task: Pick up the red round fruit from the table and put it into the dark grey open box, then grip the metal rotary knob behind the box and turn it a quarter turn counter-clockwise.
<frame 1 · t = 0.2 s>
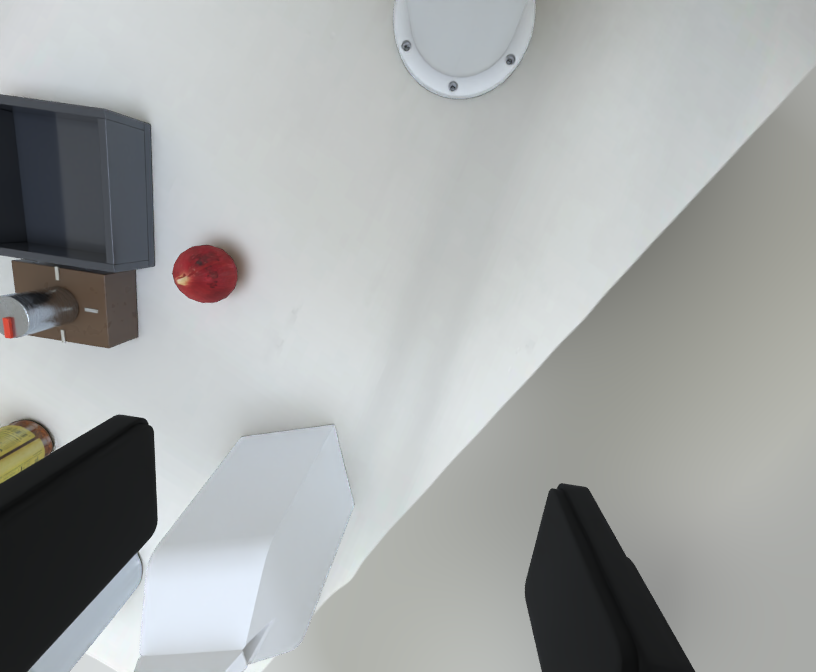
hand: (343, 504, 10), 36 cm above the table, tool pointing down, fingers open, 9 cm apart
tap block: (95, 297, 48), on the table
dark grey open box: (87, 188, 45), on the table
sauce bottle: (36, 439, 54), on the table
red round fruit: (225, 269, 46), on the table
milk: (299, 470, 52), on the table
metal rotary knob: (34, 311, 41), point 7 cm above the table, hinge at 0.0°
utensil holder: (97, 559, 59), on the table
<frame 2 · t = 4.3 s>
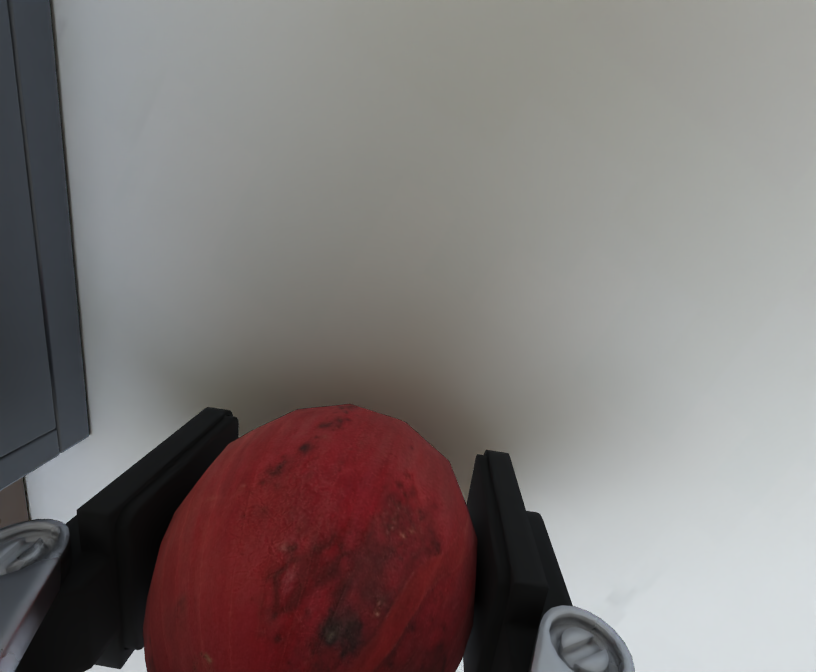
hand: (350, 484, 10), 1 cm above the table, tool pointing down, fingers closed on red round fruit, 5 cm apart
red round fruit: (363, 450, 12), on the table, touching gripper
when the fingers open (2 cm above the table, at t = 11.7 s): red round fruit stays where it is, resting on dark grey open box.
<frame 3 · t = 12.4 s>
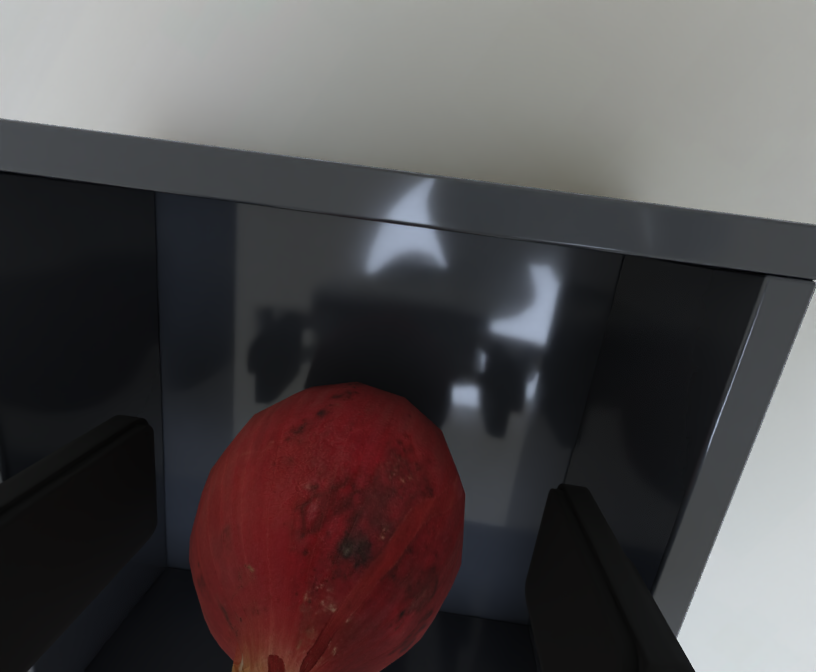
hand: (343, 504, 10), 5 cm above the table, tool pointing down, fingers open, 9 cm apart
dark grey open box: (367, 418, 14), on the table
red round fruit: (366, 429, 13), point 1 cm above the table, touching dark grey open box
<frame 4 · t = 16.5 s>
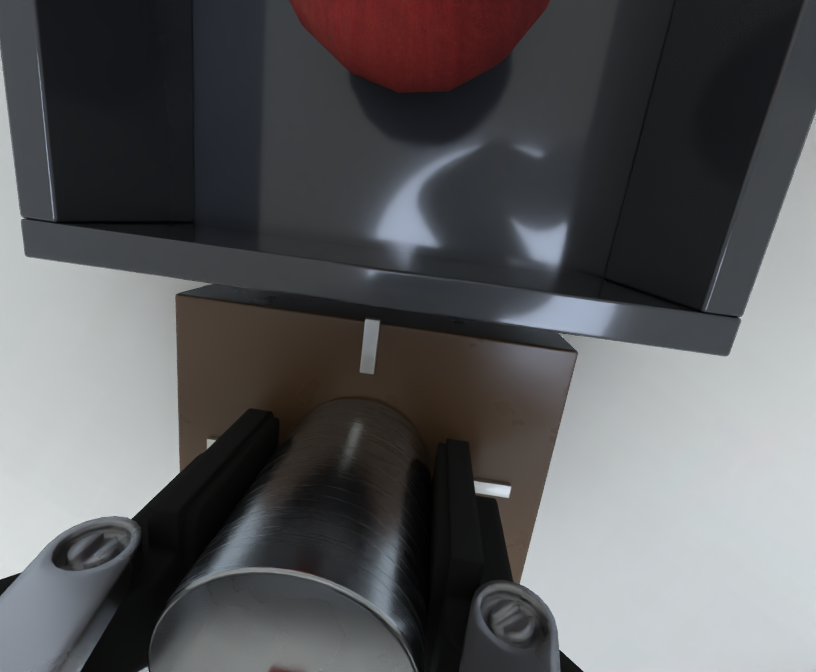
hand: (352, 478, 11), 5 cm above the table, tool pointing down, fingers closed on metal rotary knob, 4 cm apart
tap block: (380, 397, 15), on the table
dark grey open box: (425, 26, 12), on the table
red round fruit: (427, 13, 11), point 1 cm above the table, touching dark grey open box
metal rotary knob: (329, 547, 8), point 7 cm above the table, hinge at -0.2°, touching gripper
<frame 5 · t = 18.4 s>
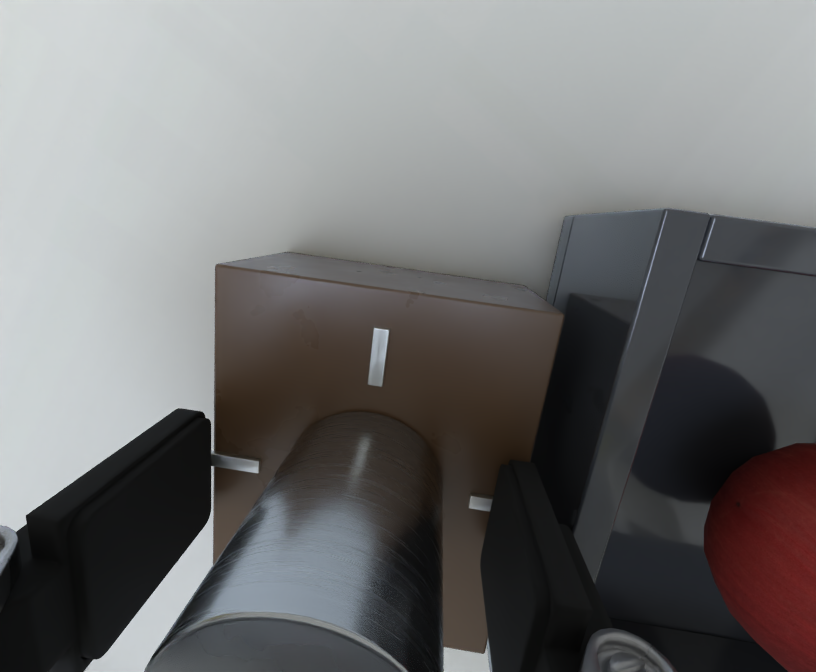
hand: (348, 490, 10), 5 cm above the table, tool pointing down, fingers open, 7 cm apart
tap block: (386, 406, 15), on the table
dark grey open box: (725, 459, 14), on the table
red round fruit: (741, 475, 14), point 1 cm above the table, touching dark grey open box
metal rotary knob: (335, 574, 8), point 7 cm above the table, hinge at 93.1°
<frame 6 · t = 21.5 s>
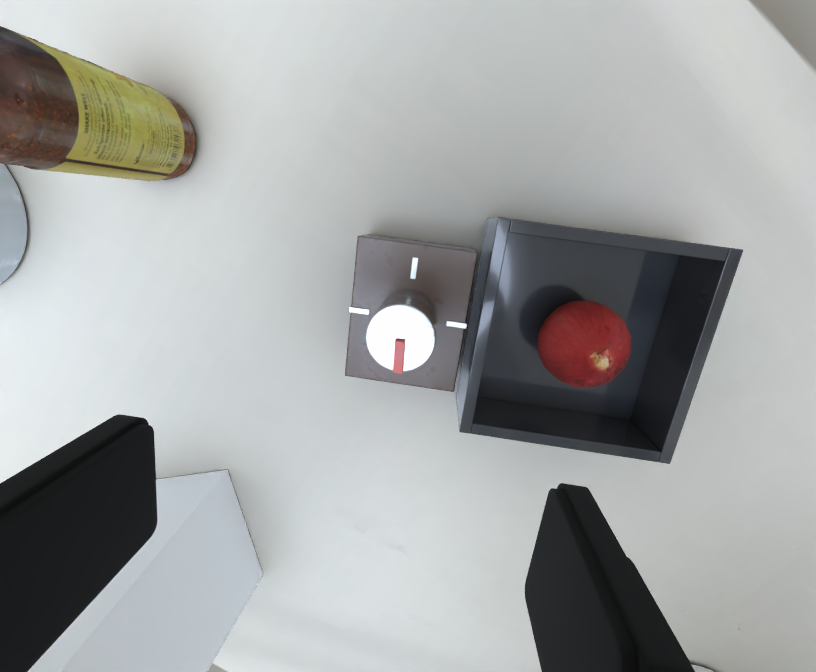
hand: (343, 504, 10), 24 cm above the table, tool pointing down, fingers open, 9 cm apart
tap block: (411, 304, 33), on the table
dark grey open box: (563, 326, 33), on the table
sauce bottle: (160, 141, 31), on the table
red round fruit: (565, 329, 32), point 1 cm above the table, touching dark grey open box
milk: (192, 529, 41), on the table
metal rotary knob: (404, 327, 26), point 7 cm above the table, hinge at 93.1°
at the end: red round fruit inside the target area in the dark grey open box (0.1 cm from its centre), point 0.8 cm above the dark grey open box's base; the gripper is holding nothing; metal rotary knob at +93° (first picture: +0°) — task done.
